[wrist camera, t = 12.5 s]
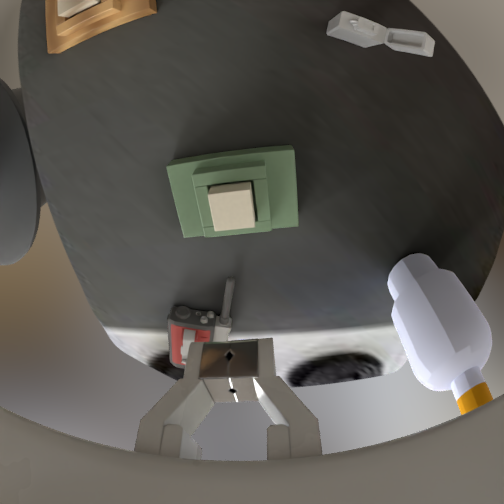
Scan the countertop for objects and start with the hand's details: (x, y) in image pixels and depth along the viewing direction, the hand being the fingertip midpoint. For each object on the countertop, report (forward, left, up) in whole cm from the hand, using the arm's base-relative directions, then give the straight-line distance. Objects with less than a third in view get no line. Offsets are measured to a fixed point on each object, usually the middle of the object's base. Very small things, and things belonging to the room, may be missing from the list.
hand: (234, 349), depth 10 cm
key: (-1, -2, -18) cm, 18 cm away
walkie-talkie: (-9, -21, -21) cm, 31 cm away
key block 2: (-1, -2, -21) cm, 21 cm away
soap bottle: (+21, -16, -21) cm, 34 cm away
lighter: (+13, +13, -21) cm, 28 cm away
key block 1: (-12, +22, -21) cm, 33 cm away
